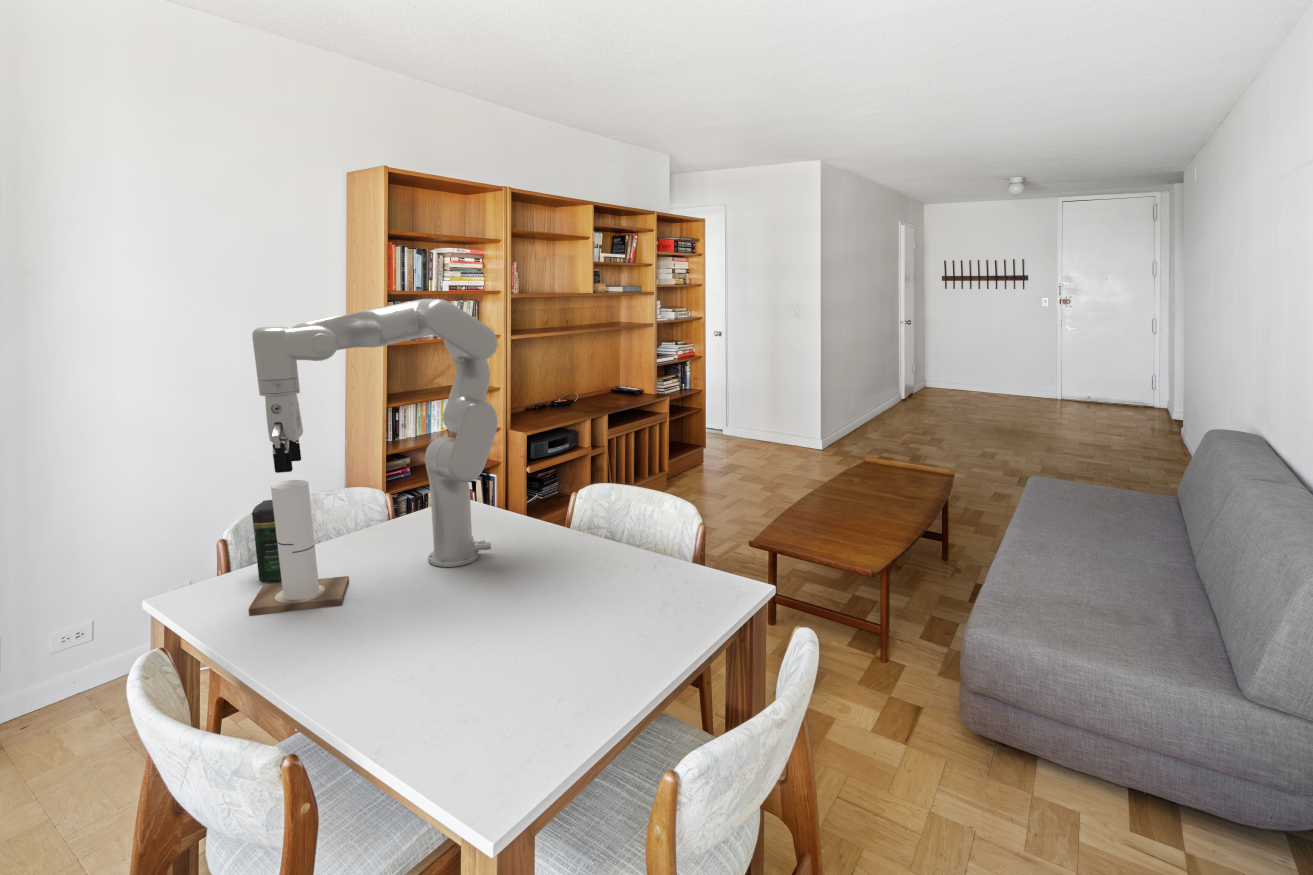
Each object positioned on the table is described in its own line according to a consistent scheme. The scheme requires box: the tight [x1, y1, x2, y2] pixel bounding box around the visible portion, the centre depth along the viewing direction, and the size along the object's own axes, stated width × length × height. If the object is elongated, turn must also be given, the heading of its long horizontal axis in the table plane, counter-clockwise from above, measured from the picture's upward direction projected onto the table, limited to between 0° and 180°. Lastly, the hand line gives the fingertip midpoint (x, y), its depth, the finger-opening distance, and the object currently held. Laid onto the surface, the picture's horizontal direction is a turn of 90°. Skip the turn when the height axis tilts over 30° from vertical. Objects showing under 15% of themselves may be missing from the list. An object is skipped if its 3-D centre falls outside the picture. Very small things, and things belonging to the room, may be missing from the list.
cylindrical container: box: [270, 479, 319, 600], centre depth 152 cm, size 7×7×25 cm
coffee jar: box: [251, 499, 282, 584], centre depth 166 cm, size 10×8×19 cm
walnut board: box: [248, 575, 350, 616], centre depth 156 cm, size 18×13×2 cm
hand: (288, 466), depth 149 cm, fingers open, 9 cm apart
